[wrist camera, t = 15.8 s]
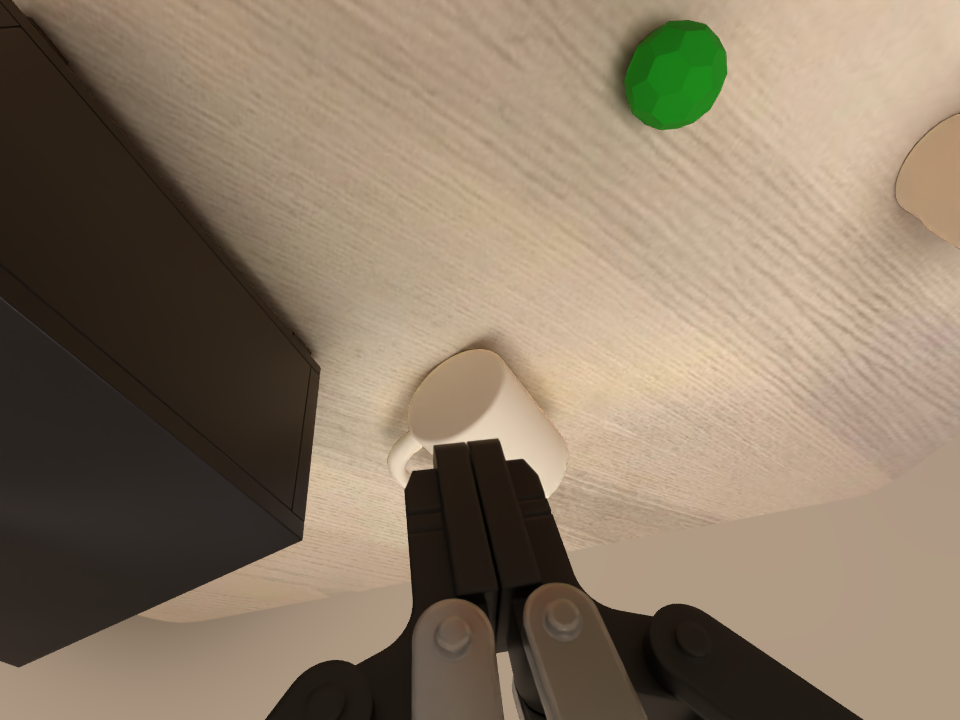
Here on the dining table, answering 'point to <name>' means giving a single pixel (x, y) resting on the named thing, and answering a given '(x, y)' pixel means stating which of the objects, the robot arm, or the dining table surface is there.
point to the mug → (480, 417)
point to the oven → (125, 376)
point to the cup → (934, 181)
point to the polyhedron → (675, 74)
